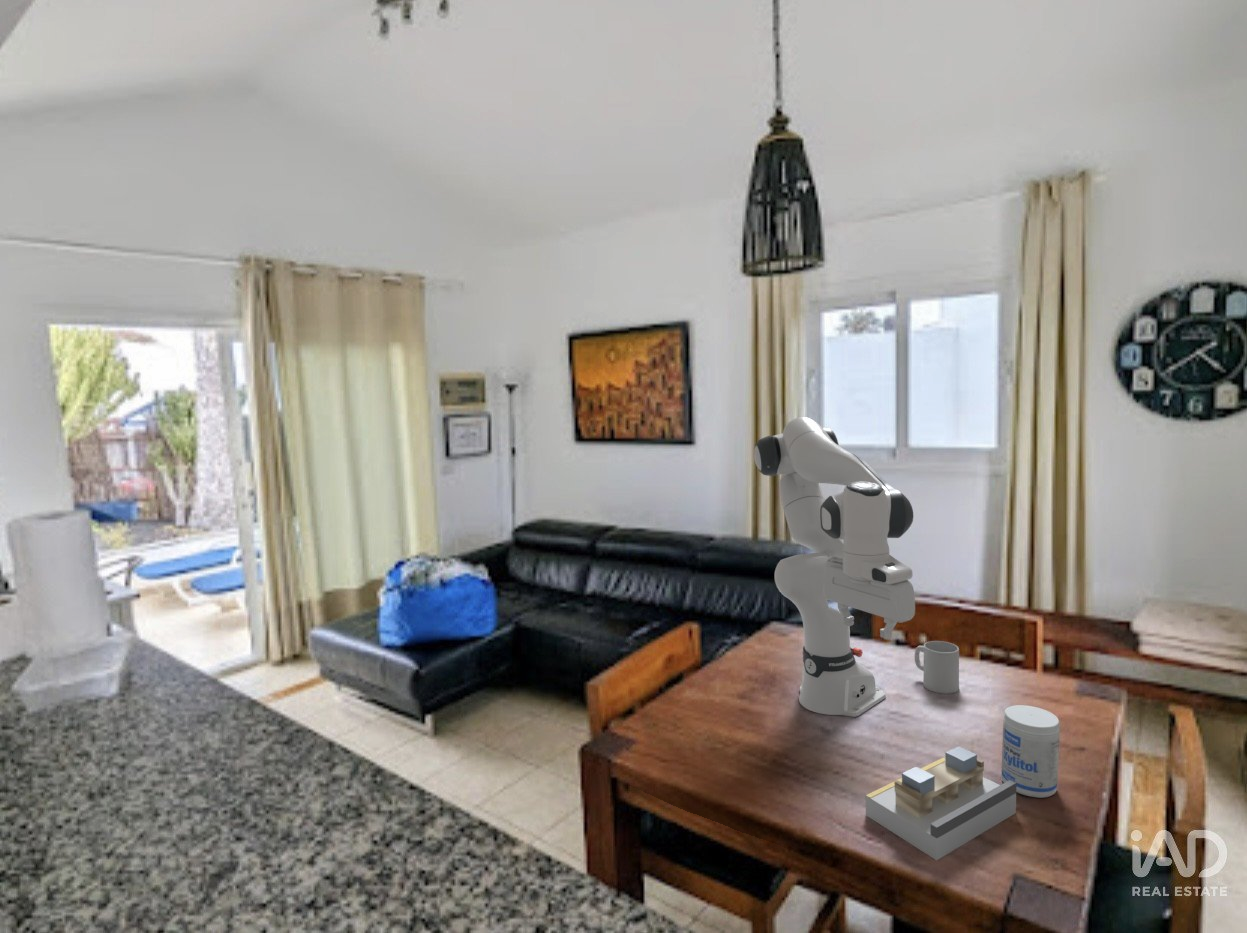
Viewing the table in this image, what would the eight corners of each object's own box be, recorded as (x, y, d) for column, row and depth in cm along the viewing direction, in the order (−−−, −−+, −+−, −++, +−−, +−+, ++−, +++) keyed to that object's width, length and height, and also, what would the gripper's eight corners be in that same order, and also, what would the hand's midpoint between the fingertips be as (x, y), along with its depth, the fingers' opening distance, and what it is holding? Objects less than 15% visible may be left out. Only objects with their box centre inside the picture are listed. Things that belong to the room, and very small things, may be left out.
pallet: (959, 771, 136) (959, 750, 135) (983, 783, 131) (983, 761, 131) (894, 804, 126) (894, 781, 126) (918, 818, 122) (918, 795, 122)
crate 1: (916, 779, 128) (916, 766, 128) (934, 788, 125) (934, 775, 124) (901, 786, 126) (901, 773, 126) (920, 796, 123) (920, 783, 122)
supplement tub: (996, 788, 136) (997, 718, 134) (1007, 767, 143) (1008, 699, 142) (1053, 806, 130) (1055, 732, 128) (1061, 782, 137) (1063, 712, 135)
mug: (966, 688, 180) (966, 647, 178) (945, 697, 175) (945, 655, 174) (925, 672, 190) (925, 634, 189) (905, 681, 186) (904, 641, 184)
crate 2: (958, 758, 134) (958, 746, 134) (976, 767, 131) (977, 754, 131) (945, 764, 132) (945, 752, 132) (963, 773, 129) (963, 761, 129)
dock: (943, 775, 141) (943, 748, 141) (1015, 813, 128) (1016, 782, 128) (865, 815, 130) (865, 785, 129) (936, 860, 117) (936, 827, 116)
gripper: (815, 557, 145) (816, 620, 146) (897, 578, 127) (898, 650, 129) (837, 552, 148) (838, 614, 149) (920, 571, 130) (920, 642, 132)
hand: (866, 631), depth 139 cm, fingers open, 8 cm apart
